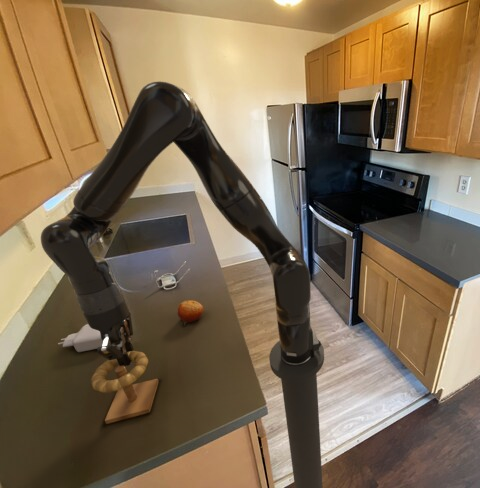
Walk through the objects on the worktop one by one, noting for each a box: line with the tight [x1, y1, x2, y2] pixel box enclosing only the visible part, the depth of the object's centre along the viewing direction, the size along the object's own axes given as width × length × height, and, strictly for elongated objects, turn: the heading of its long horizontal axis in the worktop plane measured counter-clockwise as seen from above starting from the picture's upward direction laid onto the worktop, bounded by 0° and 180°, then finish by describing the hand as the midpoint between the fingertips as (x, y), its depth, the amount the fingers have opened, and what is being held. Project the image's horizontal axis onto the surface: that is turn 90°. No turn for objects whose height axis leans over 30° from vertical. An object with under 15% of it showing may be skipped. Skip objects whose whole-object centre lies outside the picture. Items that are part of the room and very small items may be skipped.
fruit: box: [177, 299, 204, 326], centre depth 96 cm, size 8×8×8 cm
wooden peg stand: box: [104, 365, 159, 425], centre depth 66 cm, size 9×9×11 cm
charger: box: [57, 323, 103, 353], centre depth 87 cm, size 5×9×15 cm
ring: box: [90, 350, 149, 394], centre depth 64 cm, size 11×11×2 cm
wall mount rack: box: [153, 260, 191, 291], centre depth 121 cm, size 16×14×6 cm
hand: (127, 359), depth 68 cm, fingers closed on ring, 2 cm apart
